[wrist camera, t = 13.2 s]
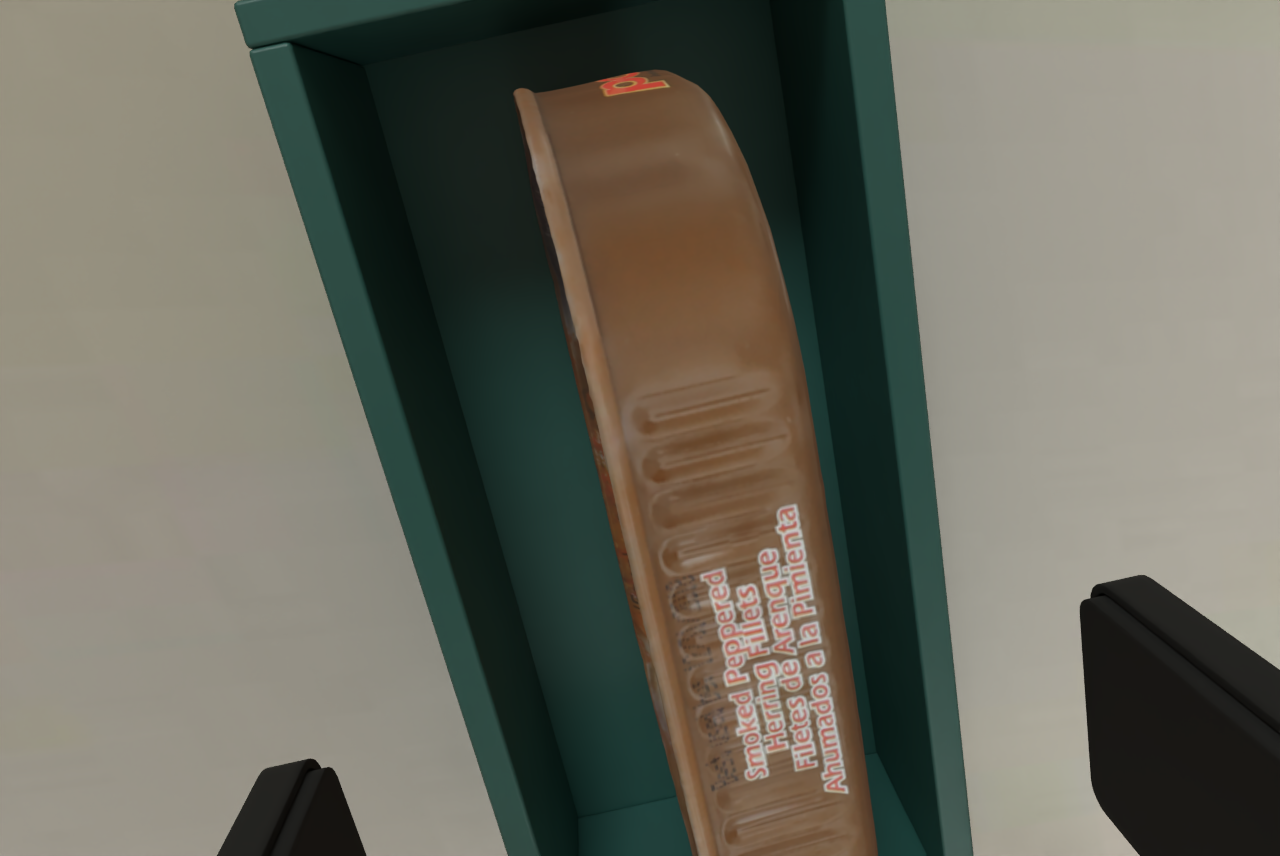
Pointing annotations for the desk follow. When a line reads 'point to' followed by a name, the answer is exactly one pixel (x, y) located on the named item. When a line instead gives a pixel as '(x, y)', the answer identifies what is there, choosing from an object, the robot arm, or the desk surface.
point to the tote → (546, 387)
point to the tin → (704, 459)
